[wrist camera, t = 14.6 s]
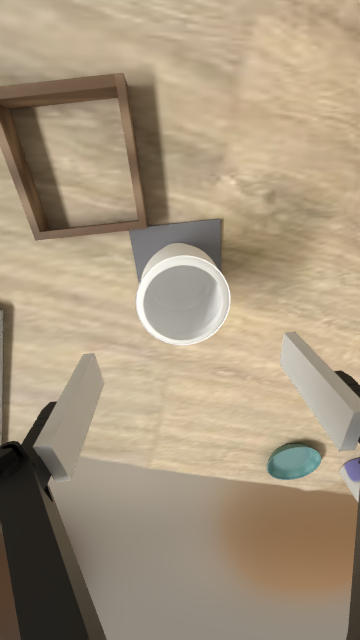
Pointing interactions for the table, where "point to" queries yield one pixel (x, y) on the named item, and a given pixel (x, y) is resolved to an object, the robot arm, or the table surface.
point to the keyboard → (1, 371)
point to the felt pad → (176, 240)
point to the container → (352, 476)
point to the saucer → (293, 461)
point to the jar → (182, 295)
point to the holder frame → (60, 92)
